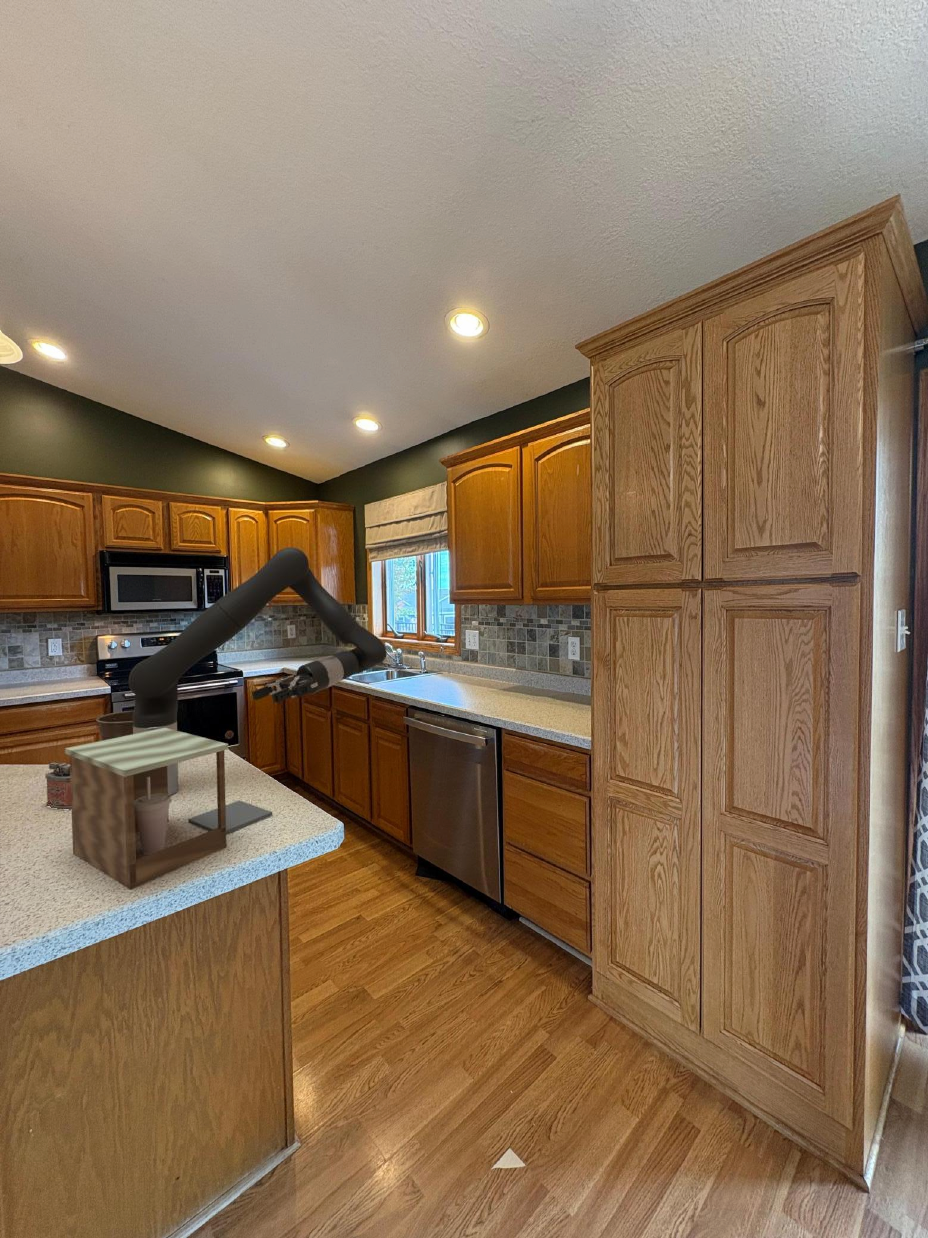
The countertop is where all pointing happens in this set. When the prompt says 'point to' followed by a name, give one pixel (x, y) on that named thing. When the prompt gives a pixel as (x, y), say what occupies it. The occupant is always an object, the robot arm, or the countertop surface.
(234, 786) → the countertop surface
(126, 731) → the plant pot
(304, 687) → the robot arm
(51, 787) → the lighter
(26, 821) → the countertop surface
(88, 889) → the countertop surface
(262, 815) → the slate mat
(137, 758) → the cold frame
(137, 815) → the smoothie
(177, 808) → the countertop surface
